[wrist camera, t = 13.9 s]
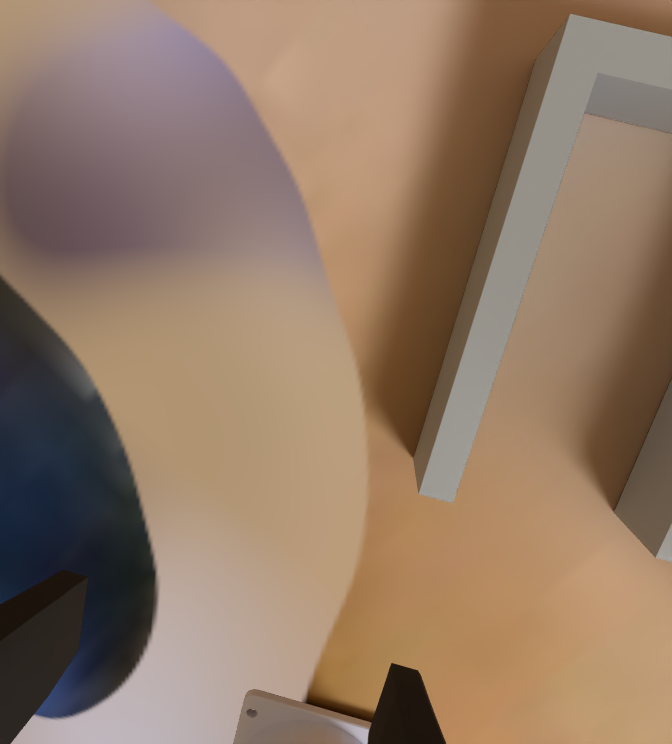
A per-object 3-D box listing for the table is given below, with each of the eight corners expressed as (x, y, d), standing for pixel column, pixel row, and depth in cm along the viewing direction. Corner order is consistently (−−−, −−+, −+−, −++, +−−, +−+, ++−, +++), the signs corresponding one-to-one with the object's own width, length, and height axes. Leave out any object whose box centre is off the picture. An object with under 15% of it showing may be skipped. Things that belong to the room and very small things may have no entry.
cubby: (643, 520, 19) (691, 567, 16) (413, 459, 19) (418, 494, 16) (821, 125, 15) (923, 94, 13) (535, 59, 16) (570, 13, 13)
